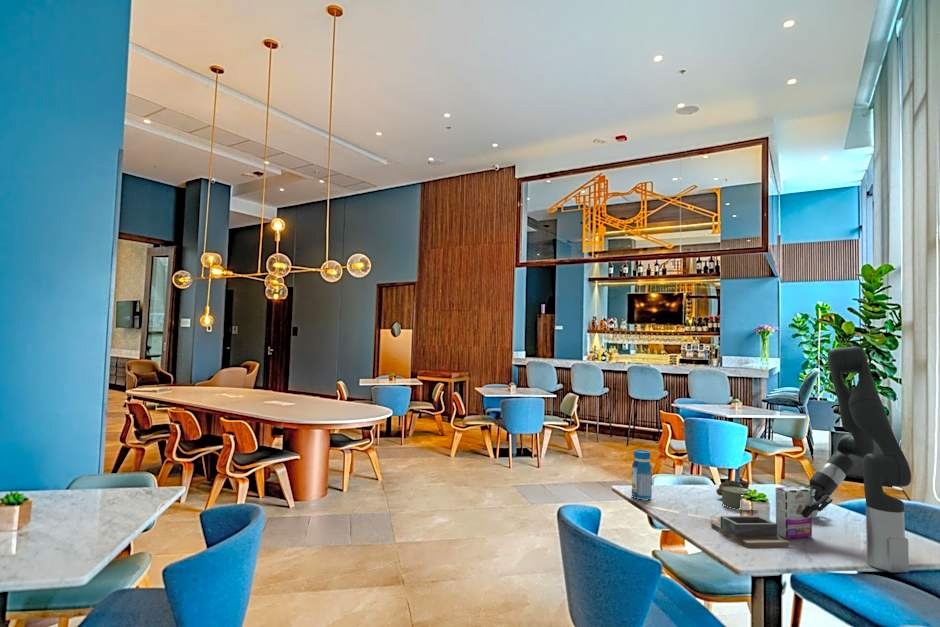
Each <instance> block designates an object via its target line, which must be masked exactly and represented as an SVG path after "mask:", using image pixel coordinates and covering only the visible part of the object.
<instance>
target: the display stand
mask: <svg viewBox="0 0 940 627" xmlns="http://www.w3.org/2000/svg"><path fill="white" fill-rule="evenodd" d="M710 524H711V526H710V527H711V528H712V529H714V530H715V531H717V532H719V533H721V534H723V535H725V536H726V537H728V538H730V539H732V540H734V541H735V542H737V543H739V544H741V545H742V546H744V547H746V548H786V547H787V548H788V547H790V541H788V540H786V539H785V538H783V537H781V536H778V535H777V524H776V522H774V521H772V520H769V519H768V518H765V517H764V516H763V517H762V516H760V515H746V516H745V515H731V516H730V515H729V516H728V515H721V516H720V522H711V523H710Z"/></svg>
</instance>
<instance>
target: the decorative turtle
mask: <svg viewBox="0 0 940 627" xmlns="http://www.w3.org/2000/svg"><path fill="white" fill-rule="evenodd" d="M725 486H734V487H742V488H746V489H749V487H750V483H749V482H748V481H746V480H740V481H739V482H738V480H737V481H736V480H726V481H723V482H721V483H720V484H719V486H718V488H716V490H715V492H716V494H717V495H718V496H721V497H722V487H725Z"/></svg>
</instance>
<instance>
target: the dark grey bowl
mask: <svg viewBox="0 0 940 627" xmlns="http://www.w3.org/2000/svg"><path fill="white" fill-rule="evenodd" d="M748 491H753V490H752V489H749V488H748V489H746V488H742V487H734V486H725V487H722V496H721V500H722V503H723V504H724V505H726V506H728V507H731V508H735V509H734V510H736V509H739V508H740V500H741V495H743V494H744V493H746V492H748ZM722 503H721V504H722ZM731 508H730V509H731Z"/></svg>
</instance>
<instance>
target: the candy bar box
mask: <svg viewBox="0 0 940 627" xmlns="http://www.w3.org/2000/svg"><path fill="white" fill-rule="evenodd" d="M801 486H802V485H801ZM801 486H799V485H798V486H785V487H784V486H782V487H775V523H776V524H777V536H778V537H780V538H782V539H785V540H786V539H787V540H791V539H792V540H793V539H804V538H812V537H813V528H812V526H813V525H812V522H813V518H812V513H811V514H810V516H808V517H807V518H805V517H803V516H802V514H801V512H802V511H803V510H804V509H805V508H806V507H807V506H809V503H810V498H811V489H808V488H805V487H806V486H802V487H801Z"/></svg>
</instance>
